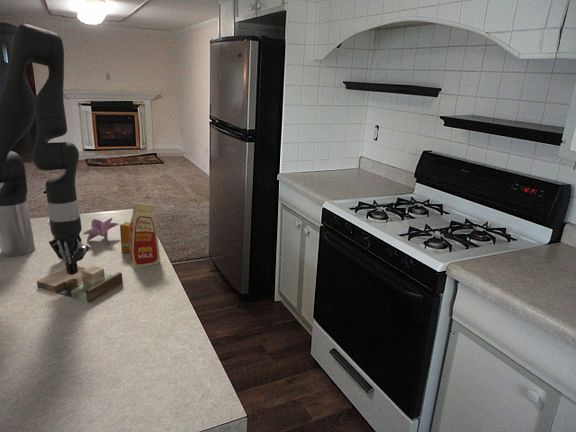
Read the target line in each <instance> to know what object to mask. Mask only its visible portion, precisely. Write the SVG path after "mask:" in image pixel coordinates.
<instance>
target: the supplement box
mask: <svg viewBox="0 0 576 432" xmlns="http://www.w3.org/2000/svg"><path fill="white" fill-rule="evenodd" d="M130 223H131V222H129V221H125V222H123V223H121V224H119V233H120V247H121V249H120V250H121V253H124V254H131V253H130V246H129V234H130Z"/></svg>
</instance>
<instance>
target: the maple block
mask: <svg viewBox="0 0 576 432" xmlns="http://www.w3.org/2000/svg"><path fill="white" fill-rule="evenodd" d="M81 272H82V279H83V284H84V285H87V286H91V287H93V286H95V285H96V284H98V283H100V282H102V281H104V280H105V275H104V273H105V269H104V267H99V266H97V265H96V266H95V265H91V266H89V267H87V269H85V270H83V271H81Z"/></svg>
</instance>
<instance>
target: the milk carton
mask: <svg viewBox="0 0 576 432" xmlns="http://www.w3.org/2000/svg"><path fill="white" fill-rule="evenodd" d="M132 205H133V208H132V215H131V219H130V222H129V223H130V234H129V246H130V253H129V254H130V258H131V262H132V265H133V269H137V268H142V267H148V266H154V265H158V264H161V256H160V246H159V237H158V230H157V224H156V222H155V221H156V220H155V215H154V214H155V207H156V205H157V204H156V203H139V202H132Z"/></svg>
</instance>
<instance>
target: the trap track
mask: <svg viewBox="0 0 576 432" xmlns="http://www.w3.org/2000/svg"><path fill="white" fill-rule="evenodd" d="M77 267H78V272H77V273H76V274H74V275H70V274H67V270H66V267H63V268H62V269H60V270H57V271H56V272H53V273H50V274H49V275H47V276H45V277H42V278H41V279H39V280H36V286H37V288H39V289H41V290H45V291H49V292H51V293H55V294H59V295H62V296H65V297H68V298H72V299H75V300H79V301H82V302H85V303H88V304H89V303H92V302H95V301H96V300H97V299H100V298H101V297H102V296H103V297H104V296H105V295H106V294H108V293H109V292H112V291H113V290H115V289H116V288H118V287H119V286H122V285H123V284H124V282H123V272H120V271H118V272H116V273H115V274H109V273H105V272H104V275H105V280H104V281H102V282H100V283H98V284H96V285H95V286H93V287H91V286H87V285H84V284H83V279H82V272H81V271H83V270H85V269H87V268H88V267H87V268H86V267H82V266H79V265H77Z"/></svg>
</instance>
